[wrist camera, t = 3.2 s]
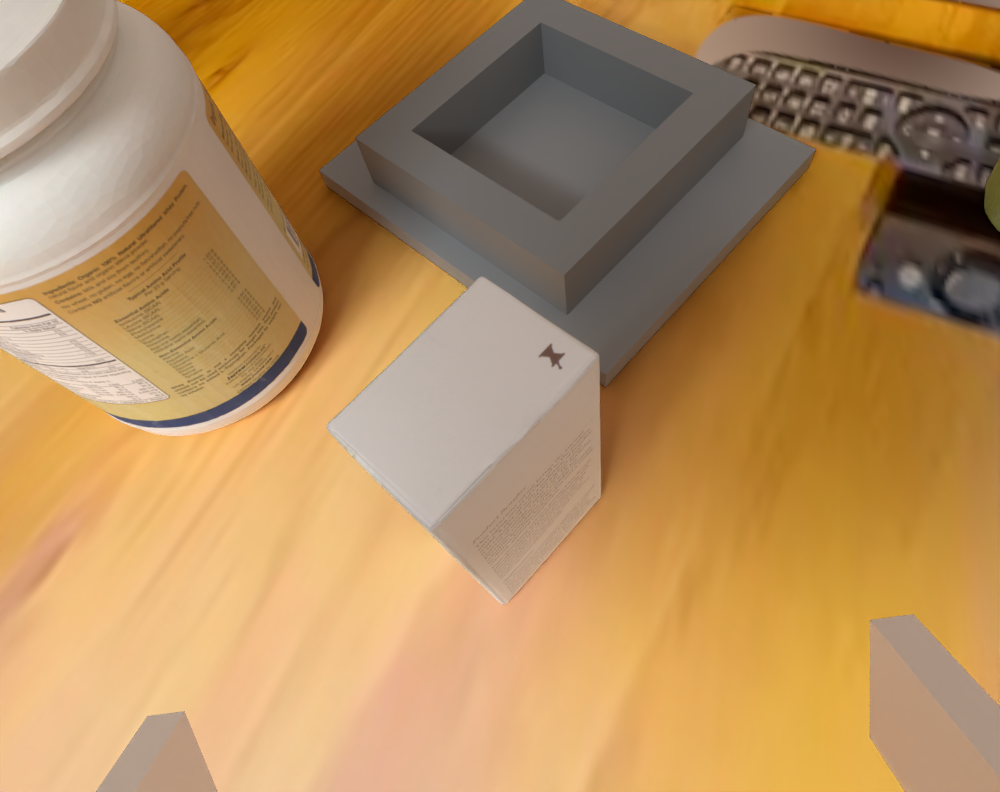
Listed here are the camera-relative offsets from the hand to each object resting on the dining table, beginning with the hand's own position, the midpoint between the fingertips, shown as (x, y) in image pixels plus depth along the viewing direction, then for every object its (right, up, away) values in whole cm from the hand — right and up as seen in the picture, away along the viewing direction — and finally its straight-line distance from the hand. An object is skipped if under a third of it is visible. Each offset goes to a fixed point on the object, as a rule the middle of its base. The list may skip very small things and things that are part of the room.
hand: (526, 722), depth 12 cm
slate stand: (+2, +18, +22) cm, 28 cm away
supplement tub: (-15, +9, +21) cm, 27 cm away
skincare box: (0, +1, +14) cm, 14 cm away
